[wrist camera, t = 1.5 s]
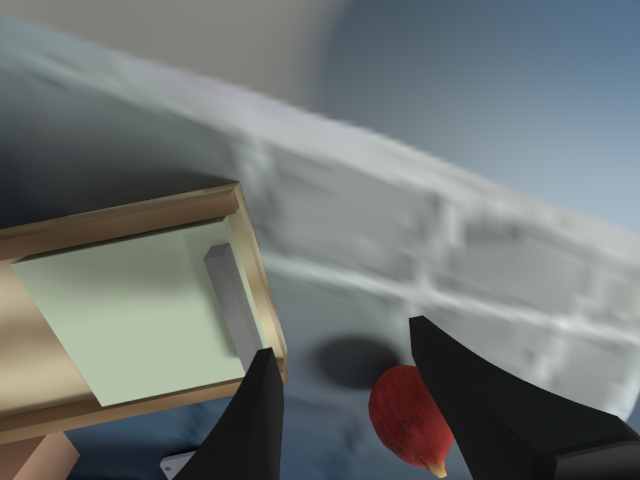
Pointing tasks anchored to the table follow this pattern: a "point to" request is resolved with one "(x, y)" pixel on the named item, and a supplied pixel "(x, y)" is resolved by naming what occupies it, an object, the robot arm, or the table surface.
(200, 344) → the lid
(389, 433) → the onion
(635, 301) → the table surface
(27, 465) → the block
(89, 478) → the table surface
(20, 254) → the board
